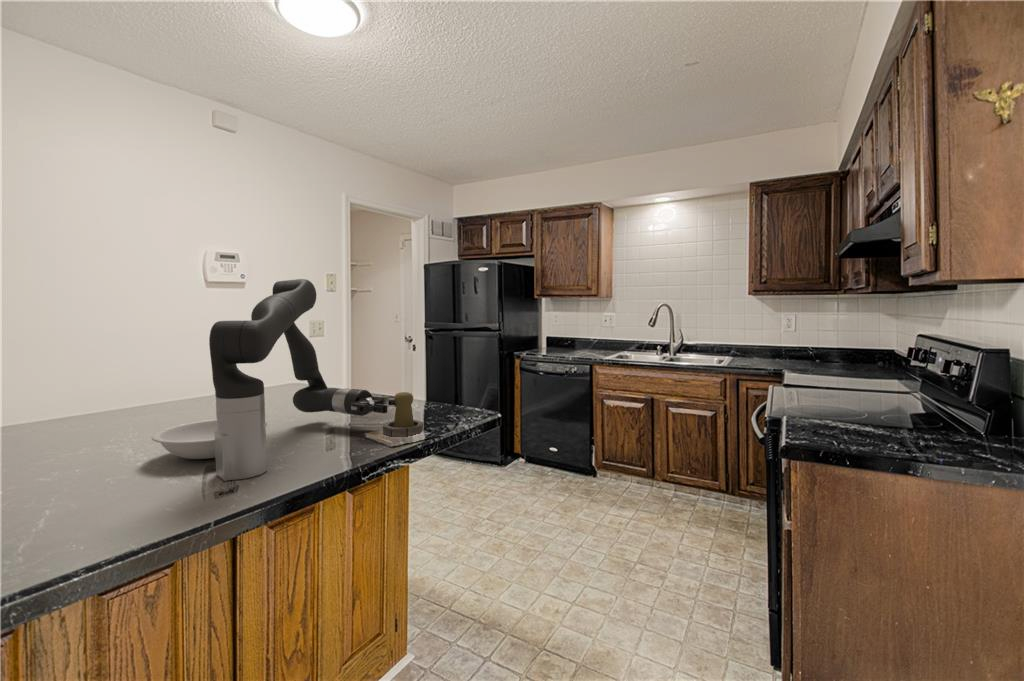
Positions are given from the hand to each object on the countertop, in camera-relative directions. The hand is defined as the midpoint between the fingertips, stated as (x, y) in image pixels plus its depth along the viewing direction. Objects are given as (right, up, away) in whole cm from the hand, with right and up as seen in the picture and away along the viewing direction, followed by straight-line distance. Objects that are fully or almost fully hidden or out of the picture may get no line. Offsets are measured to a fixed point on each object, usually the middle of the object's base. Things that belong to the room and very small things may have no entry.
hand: (396, 406), depth 137 cm
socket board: (+2, -8, 0) cm, 9 cm away
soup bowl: (-41, -10, -16) cm, 45 cm away
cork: (+2, -7, +1) cm, 8 cm away
